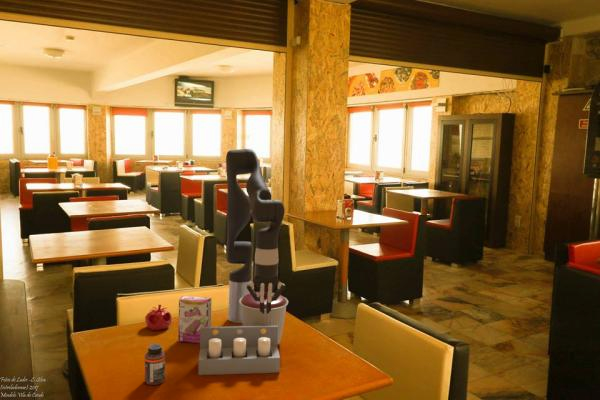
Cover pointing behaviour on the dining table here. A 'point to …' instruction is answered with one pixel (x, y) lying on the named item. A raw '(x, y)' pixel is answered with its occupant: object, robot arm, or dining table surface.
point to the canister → (256, 318)
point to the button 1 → (214, 348)
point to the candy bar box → (193, 317)
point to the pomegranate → (158, 319)
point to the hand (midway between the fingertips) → (265, 312)
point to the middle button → (239, 347)
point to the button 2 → (264, 346)
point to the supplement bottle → (154, 365)
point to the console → (227, 360)
